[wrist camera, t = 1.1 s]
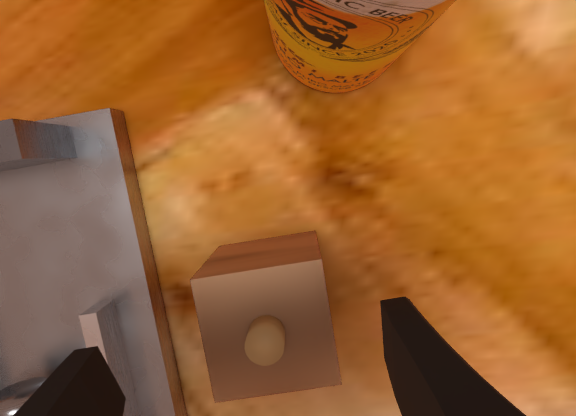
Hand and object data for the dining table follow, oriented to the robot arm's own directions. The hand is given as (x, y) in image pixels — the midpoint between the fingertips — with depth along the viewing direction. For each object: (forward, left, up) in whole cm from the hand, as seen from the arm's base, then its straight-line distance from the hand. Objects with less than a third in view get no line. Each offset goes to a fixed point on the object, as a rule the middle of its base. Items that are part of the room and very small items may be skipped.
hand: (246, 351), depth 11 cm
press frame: (-1, +12, -11) cm, 16 cm away
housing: (-2, 0, -11) cm, 11 cm away
